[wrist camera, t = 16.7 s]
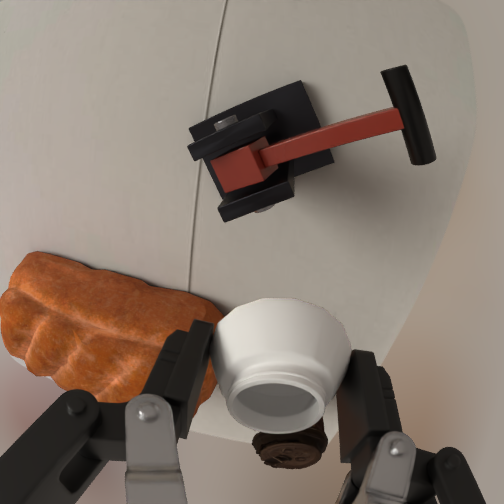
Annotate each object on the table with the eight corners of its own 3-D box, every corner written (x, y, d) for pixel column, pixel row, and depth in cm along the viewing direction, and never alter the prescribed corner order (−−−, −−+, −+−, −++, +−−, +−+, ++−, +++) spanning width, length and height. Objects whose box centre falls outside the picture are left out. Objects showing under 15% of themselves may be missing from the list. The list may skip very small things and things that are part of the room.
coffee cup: (262, 392, 44) (251, 469, 33) (261, 353, 40) (248, 438, 29) (321, 394, 43) (322, 472, 32) (328, 355, 39) (334, 441, 28)
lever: (405, 64, 13) (407, 63, 11) (434, 152, 15) (439, 165, 13) (219, 130, 20) (199, 139, 18) (251, 198, 22) (234, 213, 20)
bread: (26, 241, 38) (-35, 288, 26) (238, 301, 37) (214, 389, 25) (42, 323, 45) (-1, 374, 33) (220, 384, 44) (200, 460, 33)
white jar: (189, 342, 12) (281, 402, 13) (166, 400, 10) (276, 458, 11) (278, 262, 10) (374, 344, 11) (272, 323, 7) (388, 406, 9)
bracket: (300, 80, 26) (306, 65, 14) (333, 160, 29) (358, 201, 17) (192, 127, 29) (129, 148, 17) (226, 200, 32) (188, 261, 20)
